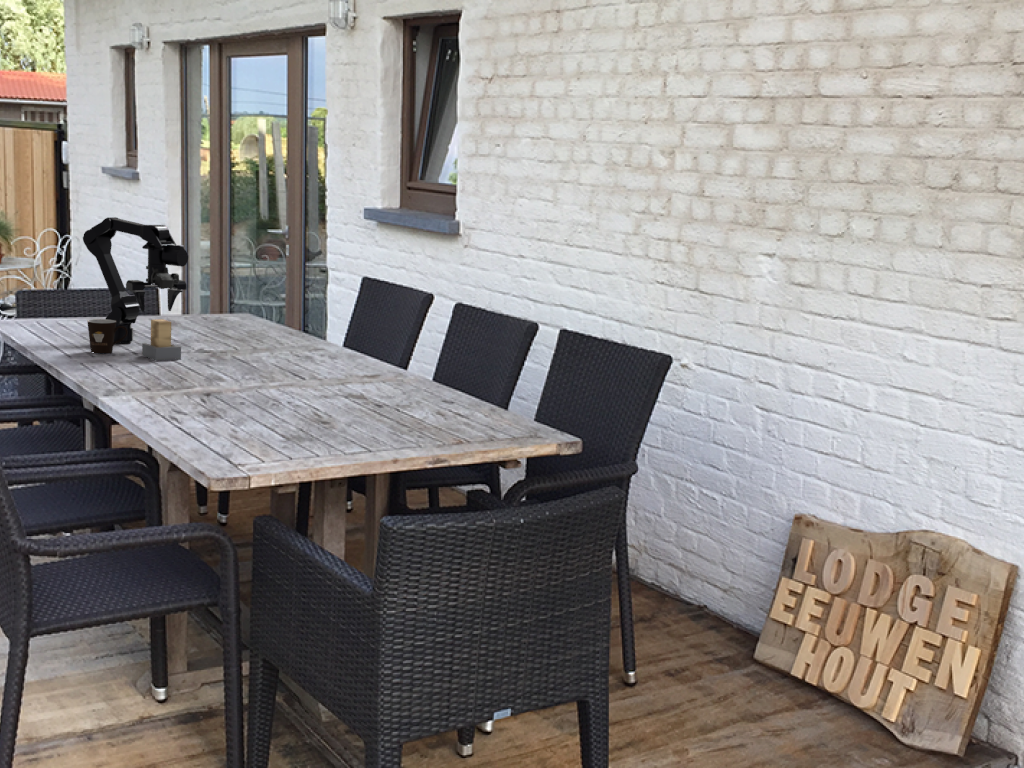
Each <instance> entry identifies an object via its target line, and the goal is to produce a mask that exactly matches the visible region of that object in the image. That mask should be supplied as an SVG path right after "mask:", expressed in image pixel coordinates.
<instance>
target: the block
mask: <svg viewBox="0 0 1024 768" xmlns="http://www.w3.org/2000/svg"><path fill="white" fill-rule="evenodd" d="M171 343H172V321H170V320H166V319H164V318H161V319H156V318H155V319H150V345H153V346H155V347H171Z"/></svg>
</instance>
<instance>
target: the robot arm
mask: <svg viewBox="0 0 1024 768" xmlns="http://www.w3.org/2000/svg"><path fill="white" fill-rule="evenodd" d="M117 232H121V233H124V234H129V235H132V236H136V237H139V238H140V239H141V240H143V241H145V242H146V243H145V244H144V245H142V249H143V250H147V265H146V266H145V269H146V270H147V278H146V279H145V282H144V281H142V280H138V279H128V280H127V281H126V283H125V285H124V282H123V280H122V277H121V275H120V272H119V270H118V267H117V266H116V263H115V260H114V258H113V255H112V246H113V243H112V239H113V238H114V237H115V236H116V234H117ZM82 240H83V244H84V245H85V247H86V249H87V250H88V252H89V253H91V255H92V256H94V257H95V258H96V261H97V264H98V266H99V269H100V270H101V273H102V276H103V278H104V282H105V284H106V286H107V289H108V291H109V294H110V296H111V302H110V310H111V312H110V313H109V314H107V316H106V317H105V319H108V320H114V321H116V327H118V326H124V327H125V328H127V331H128V334H127V336H126V337H125V338H124V339H123V340H121V341H119V342H118V343H117V344H131V343H132V342H133V340H134V328H133V327H132V324H136V321H137V318H138V316H139V313H140V311H141V312H142V313H144V312H145V307H146V306H145V295H146V291H145V289H161V290H164V289H167V311H169V312H171V311H172V308H173V305H174V304H175V301H176V299H177V297H178V296H179V294H180V293H183V292H184V290H185V291H186V290H188V289H187V288H188V284H187V282H186V281H185V280H181V279H180V275H179V273H176V272H174V273H173V272H172V273H171V274H169V268H168V266H174V267H182V268H183V267H185V266H186V265H187V264H188V260H189V255H188V252H187V250H186V249H185V245H183V244H182V245H181V244H178V245H177V244H176V242H175V240H174V237H172V234H171V233H170V230H169V228H168V226H167V225H165V224H145V223H144V224H143V223H139V222H134V221H130V220H125V219H122V218H118V217H116V216H115V217H114V216H113V217H105V218H104V219H103V220H102V221H101V222H99V223H98V224H95V225H94V226H93V227H91V228H90V229H87V230H86V231H84V234H83V236H82ZM127 290H129V292H131V293H133V295H130V294H129V293H128V292H127ZM125 335H126V331H125V329H123V328H118V329H117V330H116V332H115V335H114V342H116V341H118V340H120V339H121V338H123V337H124V336H125Z"/></svg>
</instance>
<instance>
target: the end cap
mask: <svg viewBox="0 0 1024 768" xmlns="http://www.w3.org/2000/svg"><path fill="white" fill-rule="evenodd" d="M141 344H142V345H141V349H142V350H141V356H142V357H144V356H145V357H144V358H147V357H148V358H147V359H149V358H150V359H149V360H152V361H155V362H159V361H160V360H162V361H173V360H174V361H175V360H176V361H177V359H179V360H182V346H180V345H176V344H174V343H172V342H171V347H155V346H153V345H151V343H147V342H142V343H141Z"/></svg>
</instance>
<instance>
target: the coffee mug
mask: <svg viewBox="0 0 1024 768" xmlns="http://www.w3.org/2000/svg"><path fill="white" fill-rule="evenodd" d="M118 328H123V329H125V331H126V335H125V336H124V337H123V338H121V339H120V340H118V341H116V342H114V335H115V332H116V330H117V329H118ZM87 329H88V331H87V332H88V338H89V347H90V348H89V349H90V353H91V352H94V353H110V354H113V349H114V348H113V347H114V346H115V345H116V344H119V343H118V342H119V341H121V340H123V339H124V338H125V337H126V336H127V334H128V331H127V328H125V327H124V326H118V327H116V321H114V320H108V319H106V318H96V319H92V318H91V319H88V320H87ZM94 353H93V354H94Z"/></svg>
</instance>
